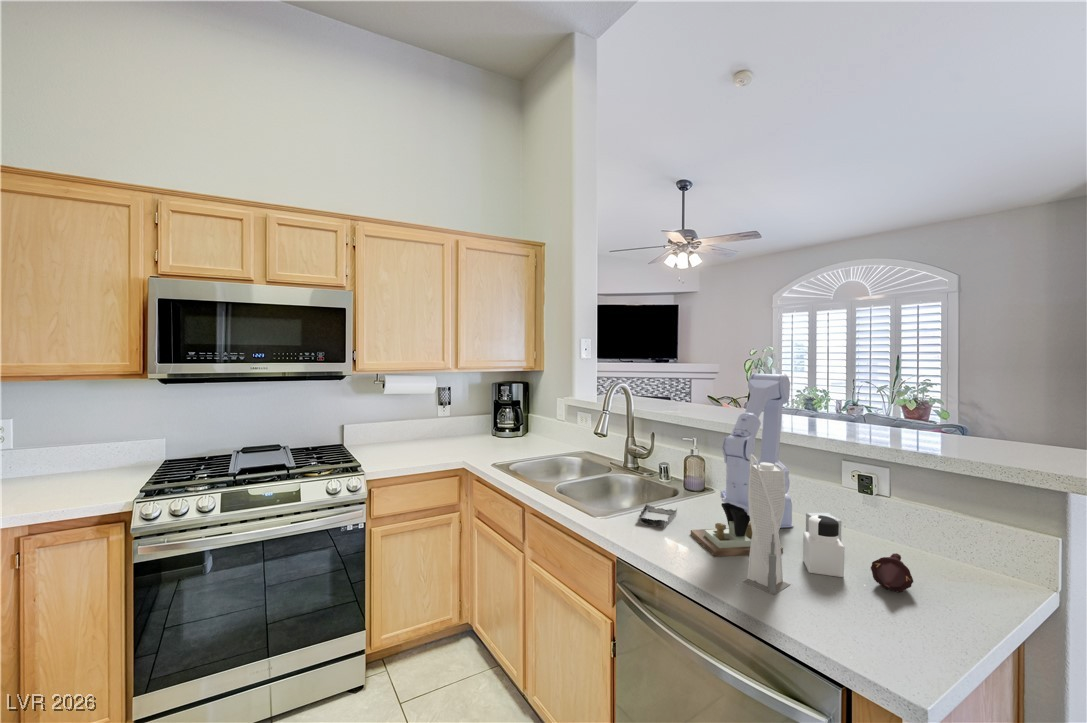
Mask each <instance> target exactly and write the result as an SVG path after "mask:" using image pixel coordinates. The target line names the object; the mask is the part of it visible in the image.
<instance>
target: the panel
mask: <svg viewBox="0 0 1087 723" xmlns="http://www.w3.org/2000/svg"><path fill="white" fill-rule="evenodd" d="M728 528H729V529H725V530H724V539H729V540H727V541H720V540H719V539H718V538H717V537H716V536H717V529H716V528H715V529H716V530H705V536H706V537H707V538H708V539H709V540H710V541H712V542H713V543H714V544H715V545H716V546H717V547H718V548H732V547H750V546H751V539H749V538H748V537H747V536H746V533H745V536H740V537H737V536H736V534H735V527H734V521H729V526H728Z"/></svg>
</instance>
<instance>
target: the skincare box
mask: <svg viewBox="0 0 1087 723" xmlns="http://www.w3.org/2000/svg"><path fill="white" fill-rule="evenodd" d="M815 515H822V516H828V517H831V518H833V519H835V520H836V521H837V522H838V523H839V540H840V541H841V542H842V522H843V521H842V519H840V518H837V517H835V516H833V515H832V514H830V513H829V512H808V513H807V512H806V513H805V532H809V518H810V517H811V516H815Z"/></svg>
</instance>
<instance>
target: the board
mask: <svg viewBox="0 0 1087 723" xmlns="http://www.w3.org/2000/svg"><path fill="white" fill-rule="evenodd" d="M714 527H715V528H704V529H701V528H700V529H691V530H690V535H691V536H692V537H693V538H694V539H695V540H697V542H699V543H700V544H701V545H702V546H703V547H704V548H705V549H706V550H707V551H708V552H709V553H711V555H713V556H714V557H727V556H728V557H730V556H731V557H732V556H746V555H747V556H748V555H750V547H732V548H718V547H717V546H716V545H715V544H714V543H713V542H712V541H710V540H709V539H708V538H707V537H706V536H705V530H716V529H717V536H716V537H717V538H718V539H719V540H720V541H727V540H729V539H724V530H725V529H729V527H727V525H726V524H724V523H721V522H720V523H719V522H717V523H715V524H714ZM746 536H747V537H748V538H749V539H751V538H752V528H751V522H750V521H749V524H748V526H747V529H746ZM780 547H781V546H780ZM782 553H784V548H783V547H781V554H782Z"/></svg>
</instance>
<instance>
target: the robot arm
mask: <svg viewBox="0 0 1087 723" xmlns="http://www.w3.org/2000/svg"><path fill="white" fill-rule="evenodd" d="M747 386H748V387H747V388H748V392H749V398H748V402H747V405H746V409H745V412H743V413H741V414H739V415H738V417H737V419H736V423H735V424H734V426H733V429H732V431H731V433H730V434H729V435H728V436H726V437H725V438H724V439H723V443H722V448H721V449H722V455H723V458H724V459H723V460H724V463H725V465H726V468H725V471H726V474H725V490H720V494H719V495H720V498H721V502H722V503H721V507H722V509H723V511H724V514H725V517H726V521H727V524H728V525H727V526H728V527H729V521H734V527H735V534H736V536H737V537H740V536H745V533H746V529H747V526H748V524H749V522H750V515H749V503H748V491H749V476H750V466H751V463H750V455H751V454H753V455H754V454H755V450H756V449H755V447H756V437H757V435H758V433H759V432H758V431H759V429H760V427H761V423H762V430H761V431H762V433H761V446H760V447H761V448H760V458H759V459H757V461H758V464H759V465H760V463H762V462H766V463H772V464H775V463H778V464H780V465H781V466H782V467H783V468H784V471H785V507H784V513H783V518H782V522H781V526H780V528H781V529H782V528H784V529H785V528H794V525H793V524H792V523H793V503H792V499H791V497H790V495H789V494H788V492H789V489H790V483H791V482H790V476H789V474H790V472H789V469H788V467H787V466H785V465H784V464H783V462H781V461H780V444H781V434H782V433H781V431H782V429H781V428H782V416H783V406H784V405H786V404H787V403H789V400H790V395H791V382H790V378H789V376H788V375H787V374H786V373H782V374H781V373H780V374H776V373H756V372H752V373H751V374H750V375H749V377H748V380H747ZM762 412H763V416H762V417H763V418H762V422H761V420H760V419H759V418H760V416H761V415H762ZM754 456H755V455H754ZM753 465H756V462H755V461H754V462H753ZM777 467H778V468H780V467H779V466H778V465H777ZM780 469H781V468H780ZM781 470H782V469H781Z"/></svg>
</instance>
